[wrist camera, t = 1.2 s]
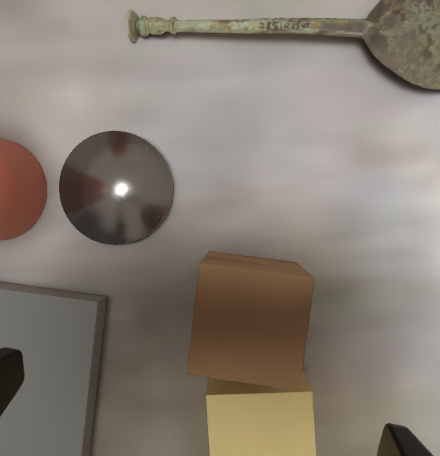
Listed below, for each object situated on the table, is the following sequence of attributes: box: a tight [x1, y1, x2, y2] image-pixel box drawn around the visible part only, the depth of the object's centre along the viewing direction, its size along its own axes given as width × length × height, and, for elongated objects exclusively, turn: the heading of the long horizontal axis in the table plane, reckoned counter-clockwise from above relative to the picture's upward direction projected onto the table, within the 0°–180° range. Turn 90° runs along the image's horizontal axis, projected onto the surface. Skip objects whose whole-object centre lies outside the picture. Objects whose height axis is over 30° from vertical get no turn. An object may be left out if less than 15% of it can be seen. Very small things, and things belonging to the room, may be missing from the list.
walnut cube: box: [187, 251, 314, 390], centre depth 19 cm, size 6×6×6 cm
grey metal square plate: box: [0, 282, 107, 456], centre depth 22 cm, size 12×12×2 cm
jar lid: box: [59, 131, 173, 245], centre depth 22 cm, size 7×7×1 cm
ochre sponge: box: [206, 370, 316, 456], centre depth 21 cm, size 9×6×3 cm, turn 4°
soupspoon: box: [126, 0, 440, 90], centre depth 21 cm, size 22×3×7 cm
